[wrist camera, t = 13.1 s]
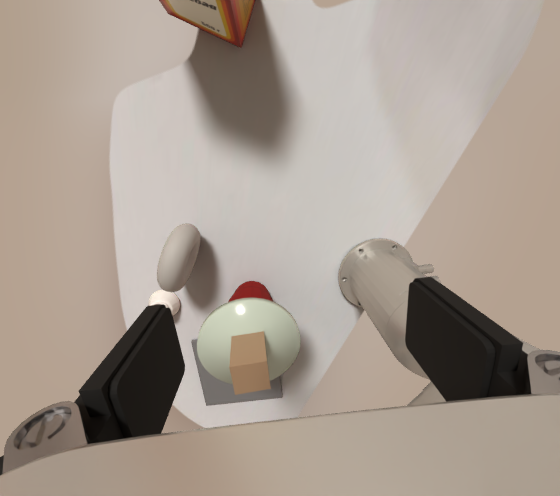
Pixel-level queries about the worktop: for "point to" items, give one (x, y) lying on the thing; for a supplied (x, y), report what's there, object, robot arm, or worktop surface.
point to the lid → (248, 343)
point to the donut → (178, 257)
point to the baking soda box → (214, 16)
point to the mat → (230, 387)
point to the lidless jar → (165, 300)
